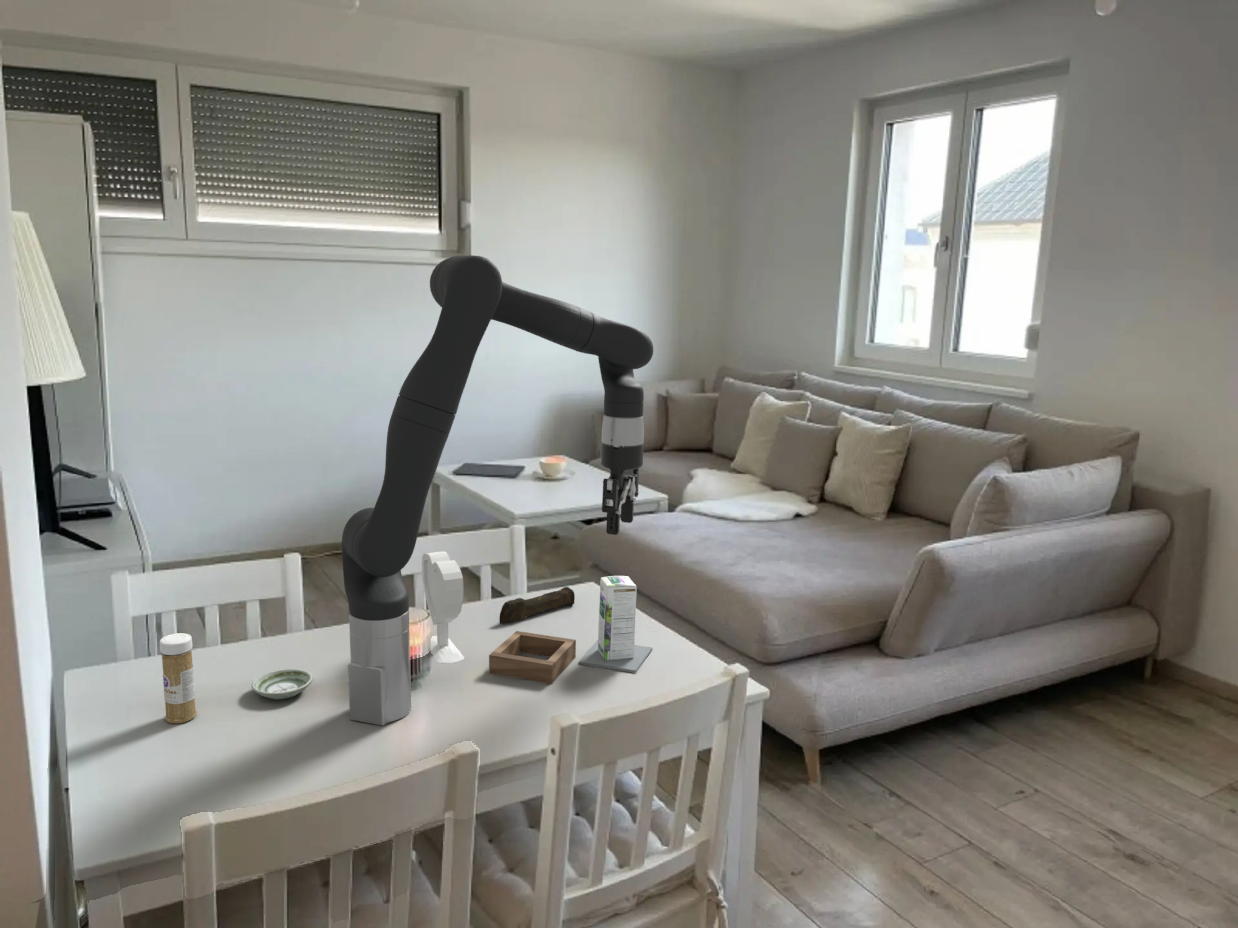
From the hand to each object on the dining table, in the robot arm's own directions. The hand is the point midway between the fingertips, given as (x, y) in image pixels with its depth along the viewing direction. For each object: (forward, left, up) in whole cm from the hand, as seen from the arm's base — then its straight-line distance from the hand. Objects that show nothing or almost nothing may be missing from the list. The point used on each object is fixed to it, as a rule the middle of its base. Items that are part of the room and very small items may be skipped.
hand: (619, 527), depth 168 cm
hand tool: (+15, +22, -26) cm, 37 cm away
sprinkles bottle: (-47, +57, -25) cm, 78 cm away
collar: (-9, +13, -25) cm, 30 cm away
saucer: (-34, +48, -26) cm, 64 cm away
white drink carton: (0, 0, -25) cm, 25 cm away
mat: (0, 0, -25) cm, 25 cm away
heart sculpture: (-8, +32, -25) cm, 42 cm away
